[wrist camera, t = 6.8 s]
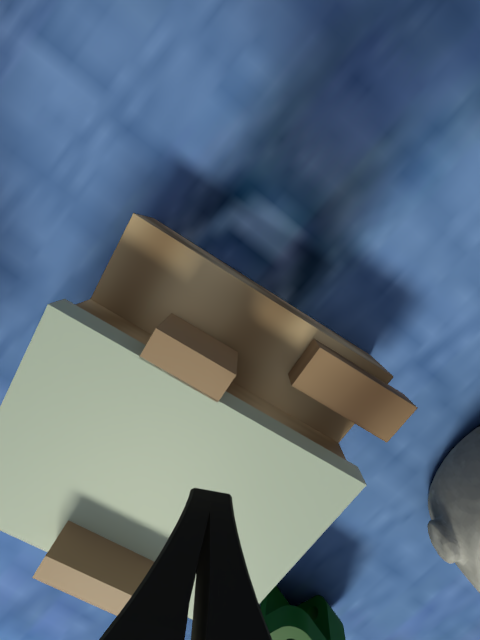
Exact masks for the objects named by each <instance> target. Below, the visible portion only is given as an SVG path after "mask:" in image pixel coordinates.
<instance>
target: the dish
mask: <svg viewBox="0 0 480 640" xmlns="http://www.w3.org/2000/svg"><path fill="white" fill-rule="evenodd" d="M428 508H429V513H430V517H431V521H429V523H428V533H429V536H430V539H431V542H432V544H433V546H434V548H435V549H436V551H437V553H438V554H439V556H440V557H441V558H442V559H443V560H445V561H446V562H448V563H450V564H451V563H454V562H455V563H456V565H457V566H458V567H459V569H460V570H461V571H462V573H463V574H464V575H465V576H466V578H467V579H468V580H469V581H470V582H471V584H472V585H473V586H474V587H475V588H476V589H477V591H478V592H479V593H480V426H479V427H477V428H476V429H474V430H473V431H472V432H471V433H469V434H468V435H467V436H466V437H464V438H463V439H462V440H461V441H460V442H459V443H458V444H457V445H456V446H455V447H454V448H453V449H452V450H451V451H450V453H449V454H448V455H447V457H446V458H445V459H444V461H443V462H442V464H441V466H440V467H439V469H438V471H437V472H436V475H435V477H434V479H433V481H432V484H431V486H430V490H429V496H428Z"/></svg>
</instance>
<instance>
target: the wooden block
mask: <svg viewBox="0 0 480 640" xmlns="http://www.w3.org/2000/svg"><path fill="white" fill-rule="evenodd" d="M288 376H289V379H290V382H291V386H293V387H294V388H296V389H298V390H299V391H301V392H303V393H304V394H306V395H308V396H309V397H311V398H313V399H315V400H316V401H318V402H320V403H321V404H323V405H325V406H326V407H328V408H330V409H331V410H333V411H335V412H336V413H338V414H340V415H341V416H343V417H345V418H346V419H348V420H350V421H352V422H353V423H355V424H357V425H358V426H360V427H362V428H363V429H365V430H367V431H368V432H370V433H372V434H373V435H375V436H377V437H378V438H380V439H382V440H384V441H385V442H388V441H389V440H390V439H391V437H392V436H393V435H394V434H395V433H396V432H397V431H398V430H399V428H400V427H401V426H402V425H403V424H404V423H405V422H406V420H407V419H408V418H409V417H410V416H411V415H412V414H413V413H414V411H415V410H416V409H417V407H416V406H415V405H414V404H413V403H412V402H411V401H410V400H409V399H408V398H407V397H406V396H405V395H404V394H402V393H401V392H399V391H398V390H396V389H394V388H393V387H391V386H390V385H388V384H386V383H385V382H383V381H382V380H380V379H378V378H377V377H375V376H373V375H372V374H370V373H369V372H367V371H365V370H364V369H362V368H361V367H359V366H357V365H356V364H354V363H353V362H351V361H349V360H348V359H346V358H345V357H343V356H341V355H340V354H338V353H337V352H335V351H333V350H332V349H330V348H329V347H327V346H325V345H324V344H322V343H320V342H319V341H317V340H316V339H313V340H312V341H311V343H310V344H309V346H308V347H307V348H306V350H305V351H304V352H303V354H302V355H301V357H300V358H299V359H298V361H297V362H296V363H295V365H294V366H293V368H292V369H291V370H290V372H289V373H288Z"/></svg>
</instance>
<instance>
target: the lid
mask: <svg viewBox="0 0 480 640" xmlns="http://www.w3.org/2000/svg"><path fill="white" fill-rule="evenodd" d="M237 361H238V352H237V351H235V350H234V349H232V348H230V347H229V346H227V345H225V344H223V343H222V342H220V341H218V340H217V339H215V338H213V337H212V336H210V335H208V334H207V333H205V332H203V331H202V330H200V329H198V328H197V327H195V326H193V325H192V324H190V323H188V322H187V321H185V320H183V319H181V318H180V317H178V316H176V315H175V314H173V313H171V314H170V315H169V316H168V317H167V318H166V319H165V320H164V321H163V322H162V323H161V324H160V325H158V326H157V327H156V329H155V330H154V332H153V334H152V336H151V337H150V339H149V341H148V342H147V344H146V345H144V344H143V343H141V342H139V341H137V340H136V339H134V338H132V337H131V336H129V335H127V334H125V333H124V332H122V331H120V330H118V329H117V328H115V327H113V326H111V325H110V324H108V323H106V322H104V321H103V320H101V319H99V318H97V317H96V316H94V315H92V314H90V313H89V312H87V311H85V310H83V309H82V308H80V307H78V306H77V305H75V304H73V303H71V302H70V301H68V300H66V299H63V300H60V301H56V302H53V303H50V304H48V305H47V307H46V310H45V312H44V314H43V316H42V318H41V320H40V323H39V325H38V327H37V329H36V331H35V333H34V335H33V338H32V340H31V342H30V344H29V346H28V348H27V350H26V353H25V355H24V357H23V359H22V361H21V363H20V366H19V368H18V370H17V372H16V374H15V376H14V378H13V381H12V383H11V385H10V387H9V389H8V391H7V394H6V396H5V398H4V400H3V402H2V404H1V406H0V530H1V531H3V532H5V533H7V534H9V535H11V536H13V537H16V538H18V539H20V540H22V541H24V542H26V543H29V544H31V545H33V546H35V547H37V548H39V549H42V550H44V551H46V552H48V553H47V554H46V556H45V557H44V559H43V561H42V562H41V564H40V566H39V567H38V569H37V571H36V573H35V574H34V576H33V578H34V579H36V580H39V581H41V582H43V583H45V584H47V585H50V586H52V587H54V588H56V589H59V590H61V591H63V592H65V593H67V594H70V595H72V596H74V597H76V598H79V599H81V600H83V601H85V602H87V603H90V604H92V605H94V606H96V607H99V608H101V609H103V610H105V611H107V612H110V613H112V614H114V615H116V616H118V614H119V613H120V612H121V610H122V609H123V608H124V606H125V605H126V603H127V602H128V601H129V599H130V598H131V596H132V595H133V594H134V592H135V591H136V589H137V588H138V586H139V585H140V583H141V582H142V580H143V579H144V577H145V576H146V574H147V573H148V571H149V570H150V568H151V566H152V565H153V563H154V562H155V560H156V559H157V557H158V555H159V554H160V552H161V551H162V549H163V547H164V545H165V544H166V542H167V540H168V538H169V537H170V535H171V533H172V531H173V529H174V527H175V526H176V524H177V522H178V520H179V518H180V516H181V514H182V512H183V509H184V507H185V505H186V502H187V500H188V497H189V494H190V490H191V489H193V488H199V489H205V490H210V491H216V492H222V493H227V494H230V495H231V497H232V503H233V510H234V516H235V521H236V526H237V531H238V535H239V540H240V544H241V547H242V551H243V555H244V558H245V562H246V566H247V569H248V572H249V576H250V579H251V582H252V585H253V588H254V591H255V594H256V597H257V600H258V603H259V604H260V603H261V601H262V600H263V599H264V598H265V597H266V596H267V595H268V594H269V593H270V591H271V590H272V589H273V588H274V587H275V586H276V585H277V584H278V583H279V581H280V580H281V579H282V578H283V577H284V576H285V575H286V574H287V573H288V572H289V570H290V569H291V568H292V567H293V566H294V565H295V564H296V563H297V562H298V560H299V559H300V558H301V557H302V556H303V555H304V554H305V553H306V552H307V550H308V549H309V548H310V547H311V546H312V545H313V544H314V543H315V542H316V541H317V539H318V538H319V537H320V536H321V535H322V534H323V533H324V532H325V531H326V529H327V528H328V527H329V526H330V525H331V524H332V523H333V522H334V521H335V519H336V518H337V517H338V516H339V515H340V514H341V513H342V512H343V511H344V509H345V508H346V507H347V506H348V505H349V504H350V503H351V502H352V501H353V500H354V498H355V497H356V496H357V495H358V494H359V493H360V492H361V491H362V490H363V488H364V487H365V486H366V483H365V481H364V479H363V477H362V475H361V473H360V471H359V469H358V467H357V466H355V465H354V464H352V463H350V462H348V461H347V460H345V459H343V458H341V457H340V456H338V455H336V454H334V453H333V452H331V451H329V450H327V449H326V448H324V447H322V446H320V445H319V444H317V443H315V442H313V441H312V440H310V439H308V438H306V437H305V436H303V435H301V434H300V433H298V432H296V431H294V430H293V429H291V428H289V427H287V426H286V425H284V424H282V423H280V422H279V421H277V420H275V419H273V418H272V417H270V416H268V415H266V414H265V413H263V412H261V411H259V410H258V409H256V408H254V407H252V406H251V405H249V404H247V403H246V402H244V401H242V400H240V399H239V398H237V397H235V396H233V395H232V394H230V393H228V392H226V390H227V388H228V387H229V385H230V384H231V382H232V381H233V379H234V378H235V376H236V373H237ZM195 583H196V577H195V581H194V585H193V590H192V594H191V598H190V604H189V610H188V618H190V619H193V609H194V596H195Z"/></svg>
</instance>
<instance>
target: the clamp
mask: <svg viewBox="0 0 480 640" xmlns="http://www.w3.org/2000/svg"><path fill="white" fill-rule="evenodd" d="M260 609H261V611H262V614H263V617H264V620H265V622H266V625H267V627H268V630H269V632H270V635H271V638H272V640H345V634H344V627H343V624H342V622H341V621H340V619H339V618H338V617H337V615H336V614H335V613H334V611H333V610H332V608H331V607H330V606H329V604H328V603H327V602H326V600H325V599H324V598H323V597H322V596H319V595H316V596H314V597H312V598H311V599H309V600H307V601H305V602H303V603H301V604H300V605H298V606H292V605H290V604H289V603H288V601H287V600H286V598H285V597H284V596H283V594H282V593H281V592H280V590H279V589H278V587H277V586H275V587H274V588H273V589H272V590H271V591H270V593H269V594H268V595H267V596H266V597H265V598H264V599H263V600H262V601H261V607H260Z"/></svg>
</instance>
